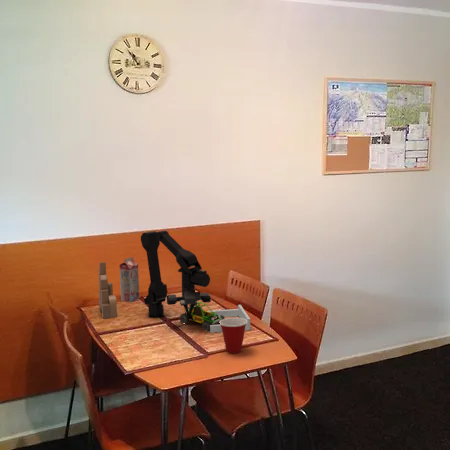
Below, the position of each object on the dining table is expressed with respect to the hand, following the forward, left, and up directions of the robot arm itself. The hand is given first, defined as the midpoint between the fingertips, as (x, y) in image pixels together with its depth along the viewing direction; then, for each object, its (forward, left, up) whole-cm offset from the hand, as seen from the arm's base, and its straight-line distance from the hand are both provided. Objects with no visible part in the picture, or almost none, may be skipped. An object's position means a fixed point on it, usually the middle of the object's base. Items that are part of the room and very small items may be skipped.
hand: (188, 317), depth 210 cm
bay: (+16, 0, -4) cm, 16 cm away
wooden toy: (-36, +25, -4) cm, 44 cm away
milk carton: (-26, +44, -4) cm, 51 cm away
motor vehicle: (+6, +2, -5) cm, 8 cm away
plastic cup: (+14, -29, -4) cm, 32 cm away
